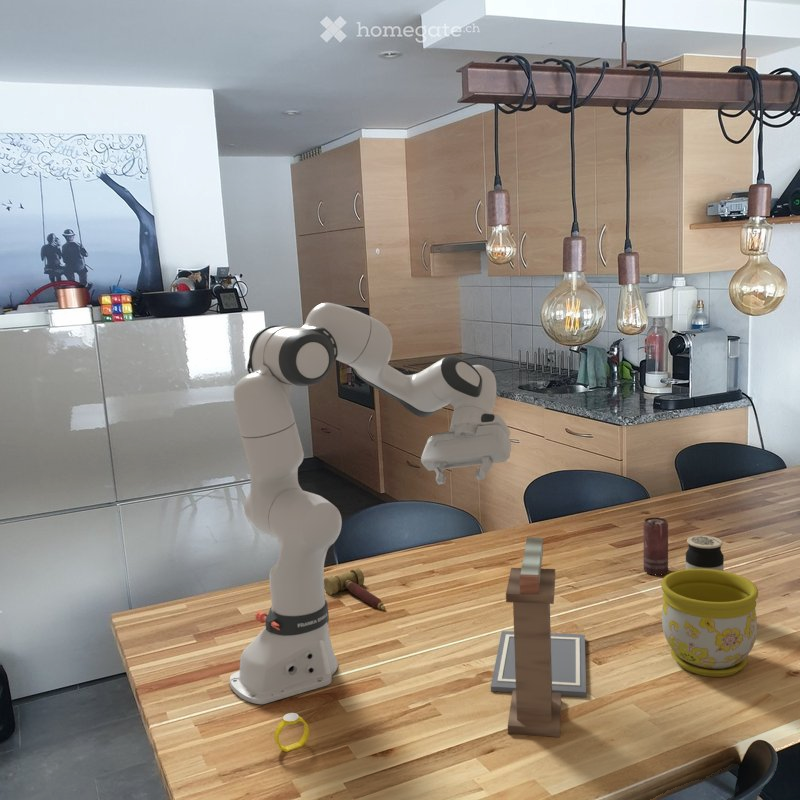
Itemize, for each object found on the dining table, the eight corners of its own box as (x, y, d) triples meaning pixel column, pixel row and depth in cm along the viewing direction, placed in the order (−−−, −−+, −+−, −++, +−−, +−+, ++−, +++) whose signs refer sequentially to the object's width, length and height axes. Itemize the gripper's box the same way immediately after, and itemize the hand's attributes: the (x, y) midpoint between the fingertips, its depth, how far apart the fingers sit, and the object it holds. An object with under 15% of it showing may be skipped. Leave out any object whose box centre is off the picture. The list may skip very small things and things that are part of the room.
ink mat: (501, 635, 178) (501, 630, 177) (584, 638, 174) (584, 633, 173) (490, 691, 154) (490, 685, 154) (586, 697, 151) (586, 691, 150)
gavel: (400, 593, 196) (366, 605, 190) (400, 611, 197) (367, 622, 191) (355, 565, 213) (322, 575, 207) (355, 581, 214) (323, 591, 208)
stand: (513, 697, 152) (508, 567, 148) (561, 700, 150) (558, 569, 146) (507, 733, 140) (502, 593, 136) (559, 737, 138) (556, 595, 134)
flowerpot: (689, 633, 174) (689, 561, 171) (773, 660, 160) (774, 583, 158) (644, 663, 162) (643, 586, 159) (729, 695, 149) (730, 612, 146)
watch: (305, 740, 142) (304, 708, 142) (311, 747, 140) (310, 715, 139) (273, 749, 139) (272, 717, 139) (278, 757, 137) (278, 724, 136)
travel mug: (692, 624, 178) (692, 547, 175) (680, 609, 185) (681, 535, 182) (728, 623, 177) (729, 546, 174) (715, 608, 185) (716, 534, 182)
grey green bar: (539, 593, 135) (538, 577, 135) (519, 593, 136) (519, 576, 135) (543, 552, 154) (543, 537, 154) (526, 551, 155) (526, 537, 155)
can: (652, 577, 205) (652, 525, 202) (639, 569, 211) (638, 518, 208) (673, 574, 206) (673, 522, 204) (659, 566, 212) (659, 515, 210)
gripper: (422, 426, 181) (410, 477, 172) (506, 413, 170) (496, 466, 162) (435, 442, 185) (423, 493, 176) (517, 431, 174) (509, 484, 166)
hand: (459, 480), depth 169 cm, fingers open, 8 cm apart
